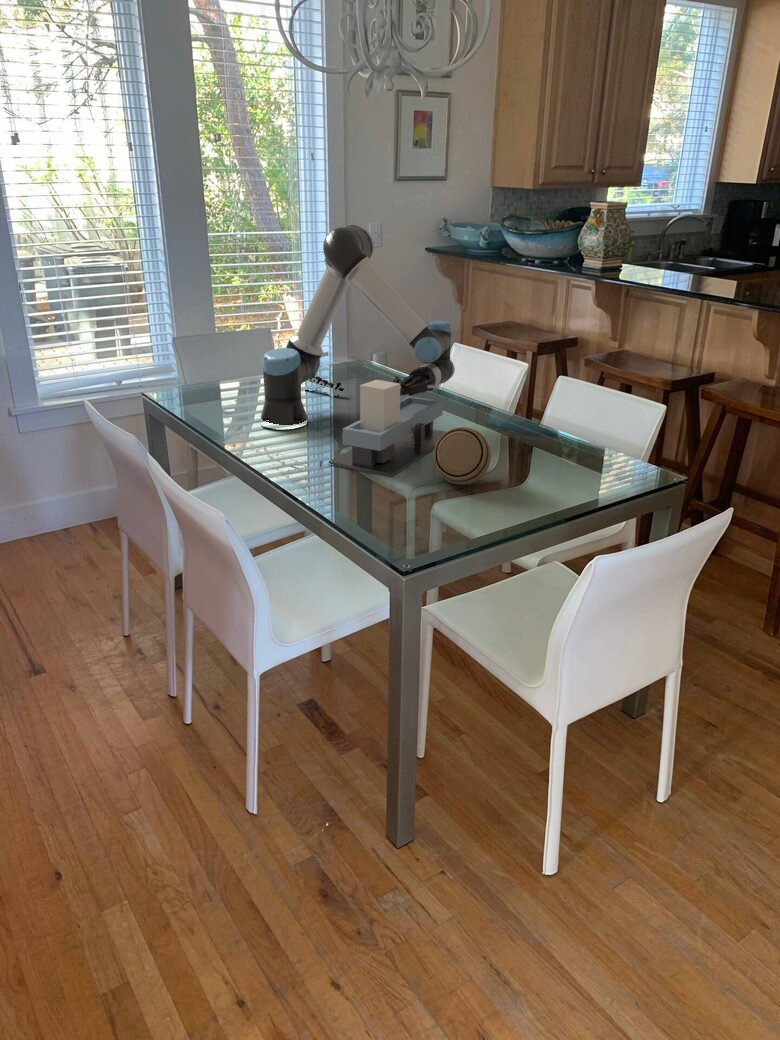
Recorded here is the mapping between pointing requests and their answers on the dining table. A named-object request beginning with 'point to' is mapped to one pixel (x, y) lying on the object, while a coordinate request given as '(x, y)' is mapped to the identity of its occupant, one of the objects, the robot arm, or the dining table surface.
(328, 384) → the logo
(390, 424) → the block
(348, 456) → the beam stand
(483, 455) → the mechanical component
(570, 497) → the dining table surface
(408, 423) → the grey tray on legs
